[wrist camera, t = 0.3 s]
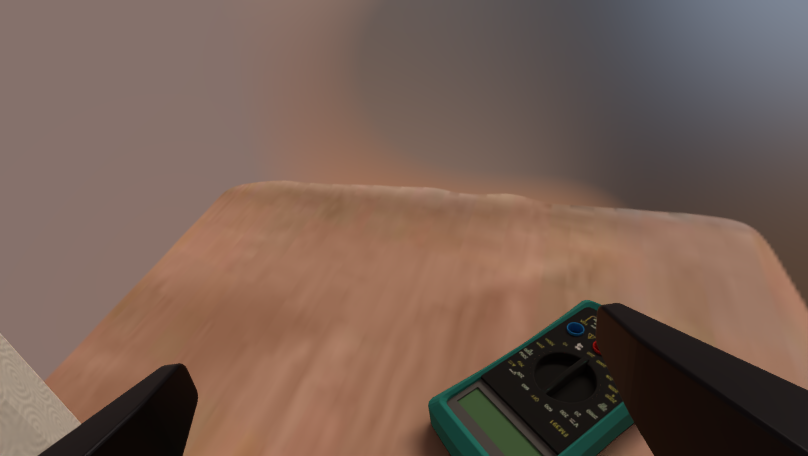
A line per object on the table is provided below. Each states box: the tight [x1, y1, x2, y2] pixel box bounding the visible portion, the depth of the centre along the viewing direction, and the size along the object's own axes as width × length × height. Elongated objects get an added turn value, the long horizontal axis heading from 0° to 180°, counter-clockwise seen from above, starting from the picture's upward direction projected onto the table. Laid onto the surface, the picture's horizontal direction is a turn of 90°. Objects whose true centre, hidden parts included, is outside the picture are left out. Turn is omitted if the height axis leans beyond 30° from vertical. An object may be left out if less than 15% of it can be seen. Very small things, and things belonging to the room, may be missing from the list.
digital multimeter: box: [428, 300, 634, 456], centre depth 25 cm, size 7×15×3 cm, turn 122°
